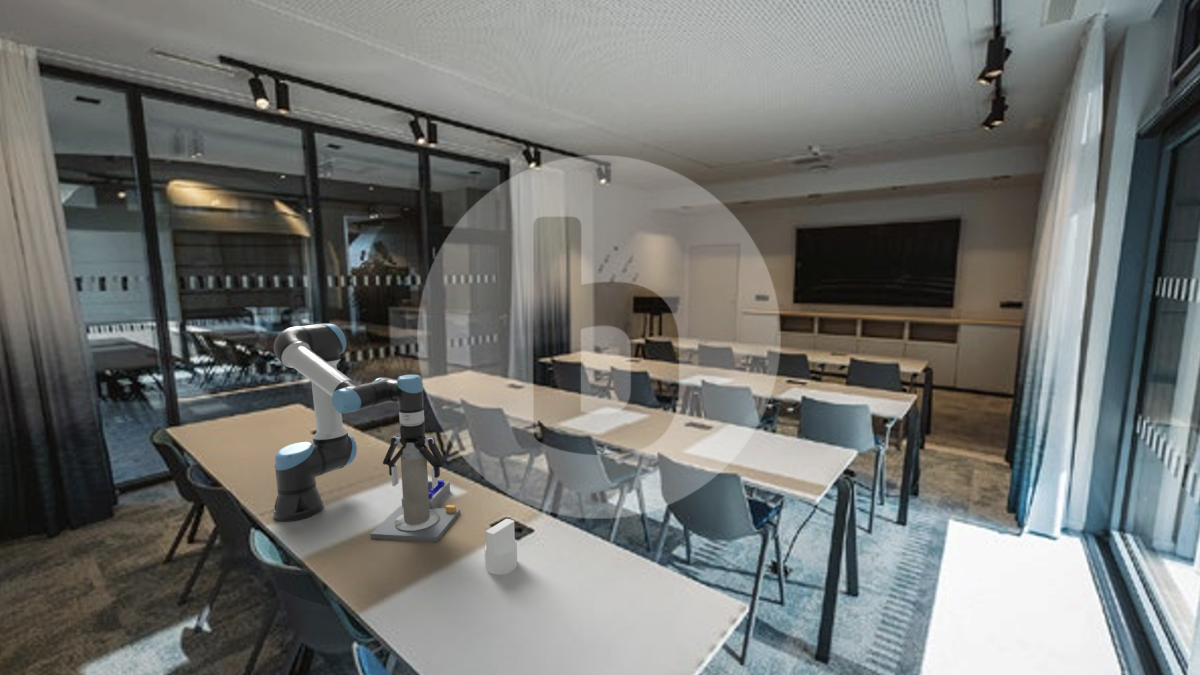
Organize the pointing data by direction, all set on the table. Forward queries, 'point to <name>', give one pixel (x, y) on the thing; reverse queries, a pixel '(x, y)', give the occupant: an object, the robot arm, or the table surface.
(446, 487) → the desk organizer
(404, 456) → the thermos bottle
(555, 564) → the table surface
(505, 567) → the cylinder with rectangular tab
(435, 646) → the table surface
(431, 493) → the blue stepped block
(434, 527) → the rosette base
